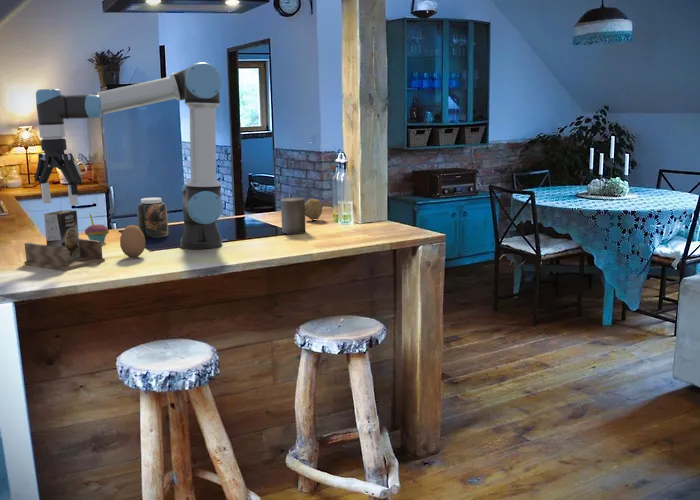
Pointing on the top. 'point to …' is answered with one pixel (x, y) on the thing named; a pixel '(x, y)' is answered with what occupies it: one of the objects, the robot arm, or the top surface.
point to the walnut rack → (63, 255)
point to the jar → (152, 218)
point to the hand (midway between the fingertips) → (60, 204)
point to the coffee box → (63, 231)
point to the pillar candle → (293, 215)
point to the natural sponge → (313, 208)
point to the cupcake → (96, 231)
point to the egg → (132, 241)
